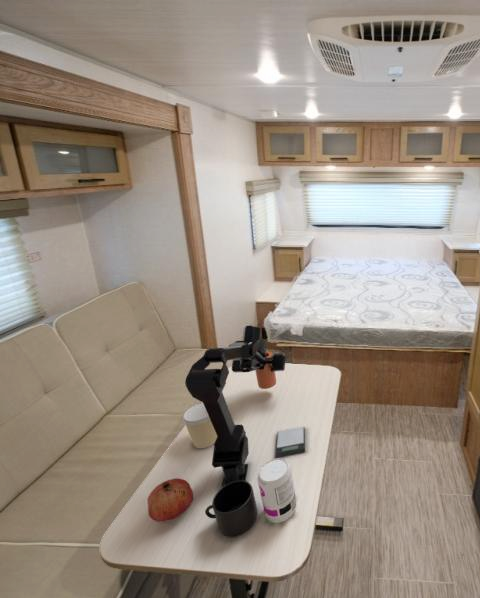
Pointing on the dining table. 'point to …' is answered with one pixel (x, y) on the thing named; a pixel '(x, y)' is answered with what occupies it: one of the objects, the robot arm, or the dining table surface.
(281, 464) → the supplement can
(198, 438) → the coffee cup
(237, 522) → the mug
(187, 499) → the fruit
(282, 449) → the scale
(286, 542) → the dining table surface
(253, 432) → the dining table surface
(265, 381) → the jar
